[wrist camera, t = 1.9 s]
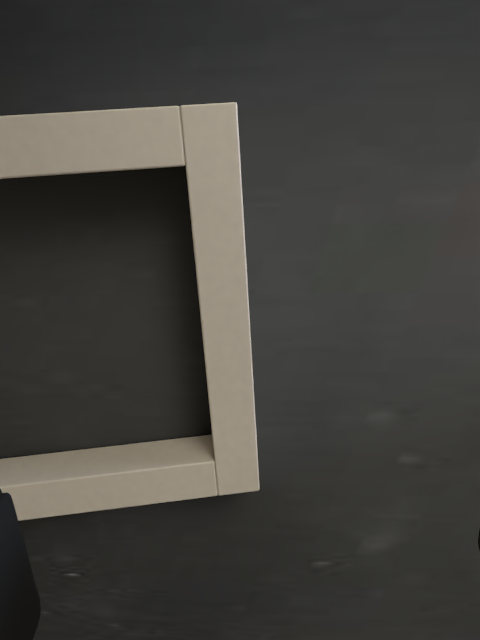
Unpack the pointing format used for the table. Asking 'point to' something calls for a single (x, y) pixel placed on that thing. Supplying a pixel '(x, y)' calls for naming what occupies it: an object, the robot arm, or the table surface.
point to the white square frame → (214, 300)
